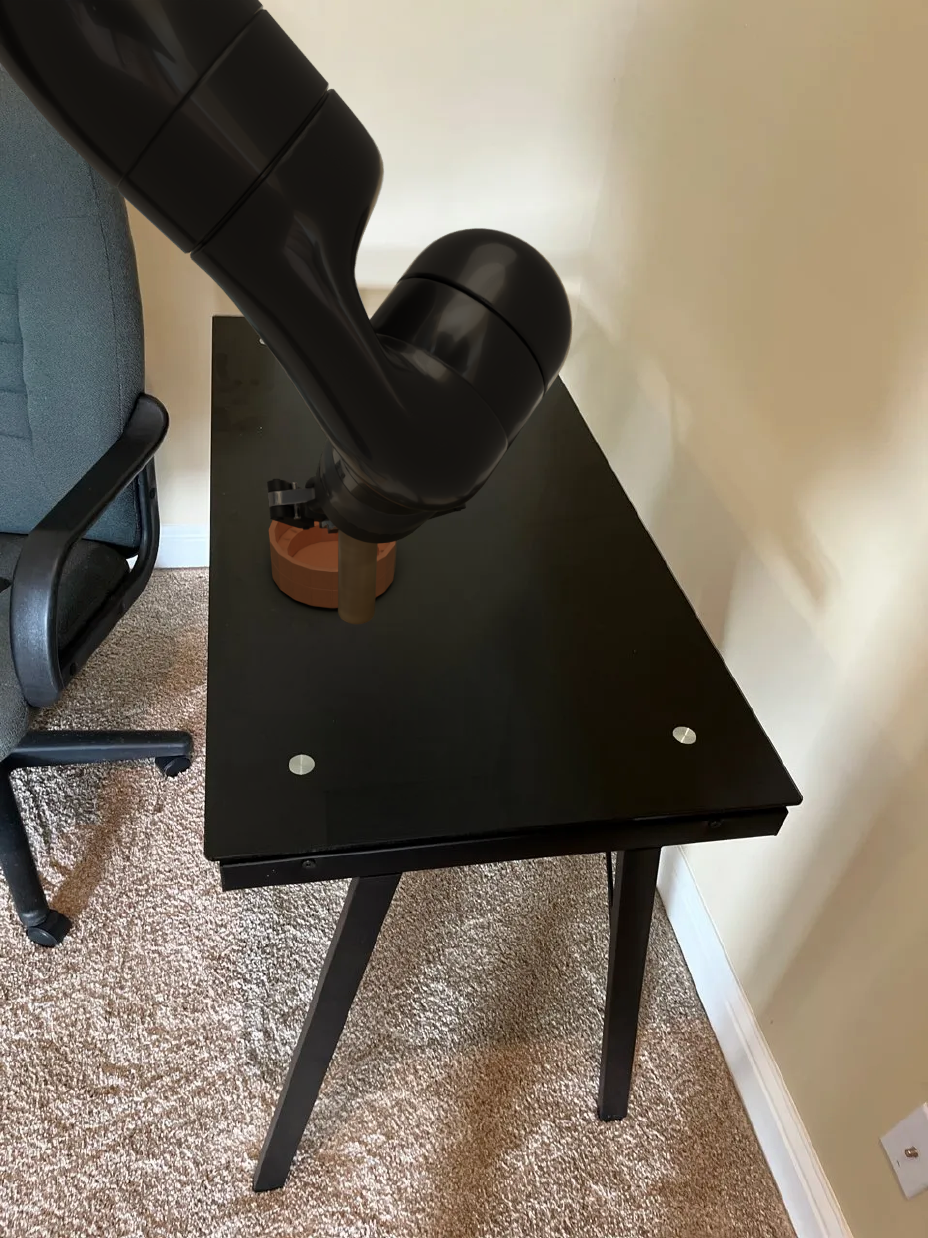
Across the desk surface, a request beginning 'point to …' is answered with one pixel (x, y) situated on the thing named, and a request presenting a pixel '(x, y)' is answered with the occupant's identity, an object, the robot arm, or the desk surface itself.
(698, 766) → the desk surface
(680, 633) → the desk surface
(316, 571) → the bowl
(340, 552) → the stick
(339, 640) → the desk surface
